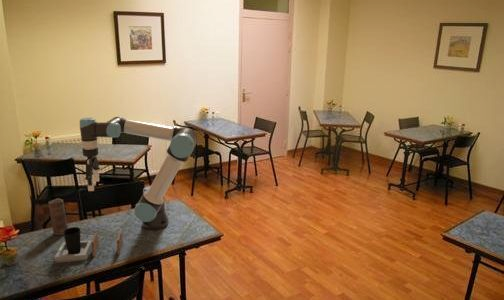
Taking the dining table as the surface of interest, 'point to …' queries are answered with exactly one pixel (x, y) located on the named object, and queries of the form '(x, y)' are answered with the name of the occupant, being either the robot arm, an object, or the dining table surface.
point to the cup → (72, 240)
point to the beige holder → (96, 243)
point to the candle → (58, 216)
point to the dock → (65, 257)
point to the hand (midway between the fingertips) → (94, 185)
